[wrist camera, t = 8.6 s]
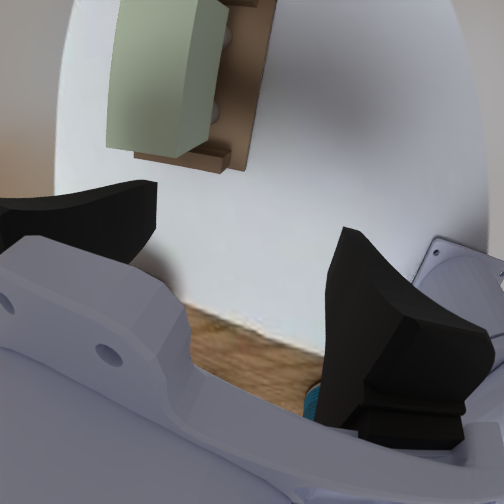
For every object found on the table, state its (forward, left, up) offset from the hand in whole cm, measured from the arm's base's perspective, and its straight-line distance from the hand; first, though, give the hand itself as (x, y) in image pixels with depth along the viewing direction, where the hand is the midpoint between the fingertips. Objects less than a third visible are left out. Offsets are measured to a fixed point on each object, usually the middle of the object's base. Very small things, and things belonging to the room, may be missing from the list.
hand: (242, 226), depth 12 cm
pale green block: (+5, +6, -7) cm, 11 cm away
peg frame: (+5, +6, -10) cm, 13 cm away
